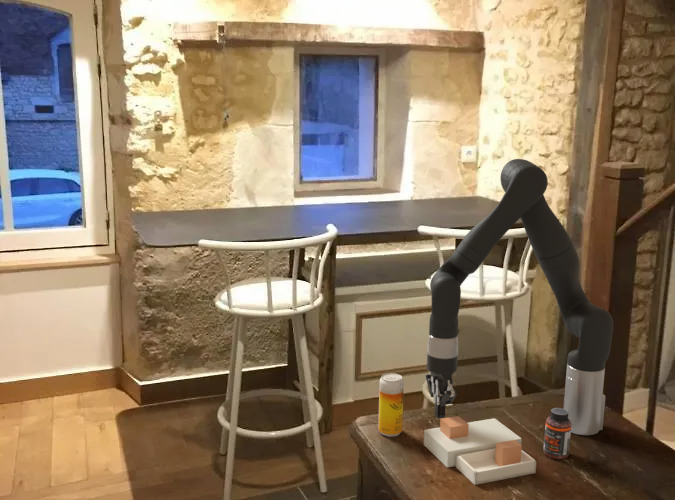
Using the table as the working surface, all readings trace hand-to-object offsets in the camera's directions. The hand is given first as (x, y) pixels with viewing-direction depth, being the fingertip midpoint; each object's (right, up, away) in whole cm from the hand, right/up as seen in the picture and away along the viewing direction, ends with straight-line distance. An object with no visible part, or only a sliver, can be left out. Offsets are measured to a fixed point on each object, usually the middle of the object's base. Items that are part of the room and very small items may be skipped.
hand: (439, 416), depth 190 cm
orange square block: (+3, -2, -7) cm, 7 cm away
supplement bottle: (+27, -7, -8) cm, 29 cm away
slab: (+7, -7, -6) cm, 11 cm away
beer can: (-12, -5, +2) cm, 13 cm away
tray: (+11, -9, -16) cm, 21 cm away
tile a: (+13, -5, -14) cm, 20 cm away
